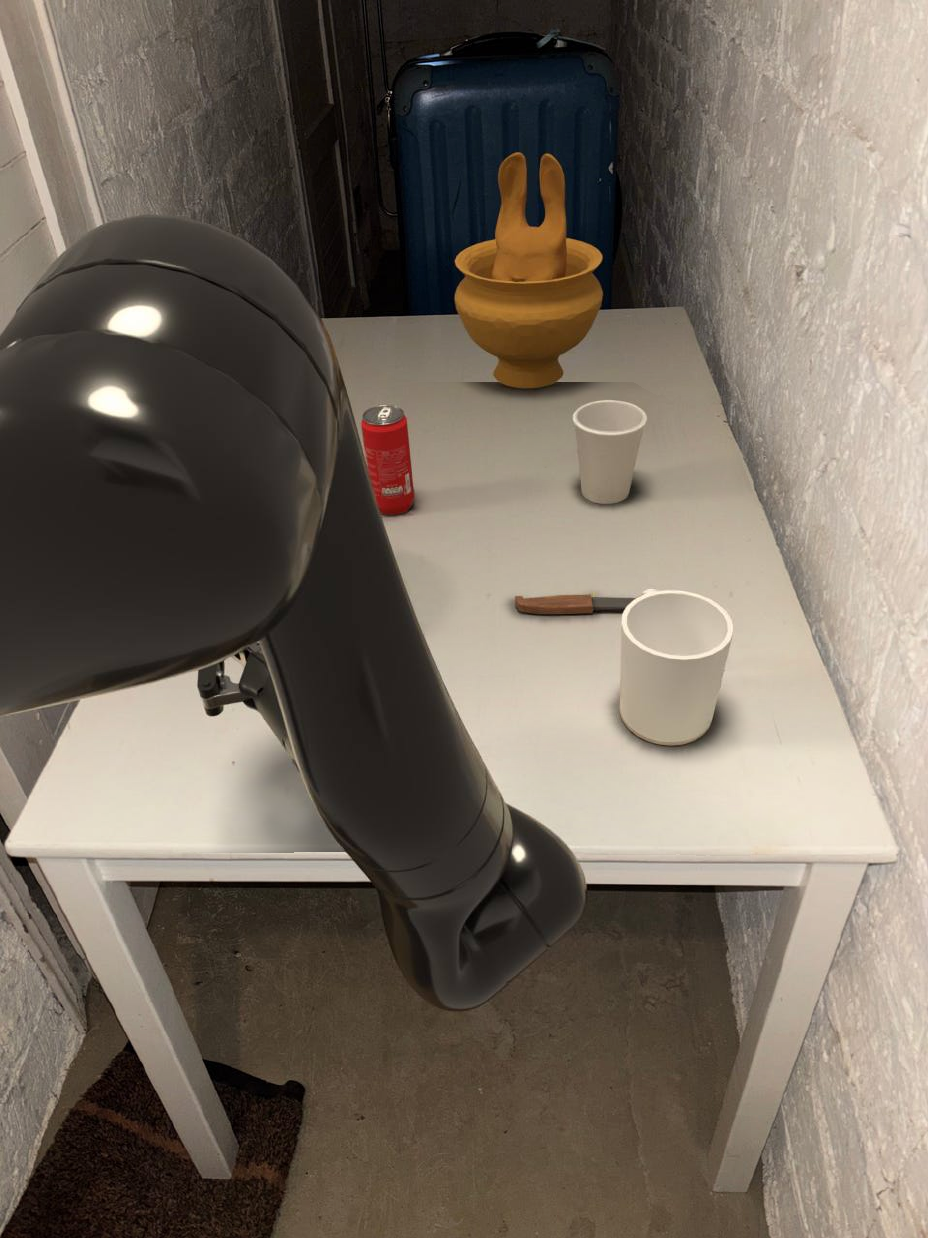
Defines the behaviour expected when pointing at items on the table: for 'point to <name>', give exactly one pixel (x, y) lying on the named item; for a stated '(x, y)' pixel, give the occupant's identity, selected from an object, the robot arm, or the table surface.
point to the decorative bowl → (529, 282)
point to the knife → (569, 604)
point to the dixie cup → (608, 448)
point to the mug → (672, 664)
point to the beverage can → (388, 458)
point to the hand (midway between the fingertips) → (240, 597)
